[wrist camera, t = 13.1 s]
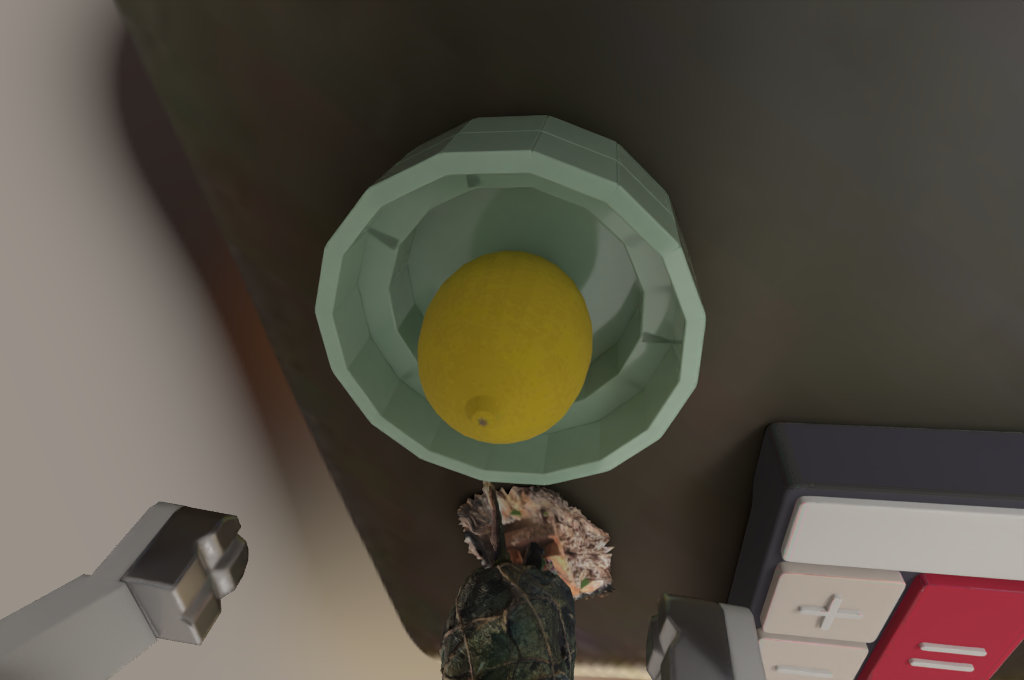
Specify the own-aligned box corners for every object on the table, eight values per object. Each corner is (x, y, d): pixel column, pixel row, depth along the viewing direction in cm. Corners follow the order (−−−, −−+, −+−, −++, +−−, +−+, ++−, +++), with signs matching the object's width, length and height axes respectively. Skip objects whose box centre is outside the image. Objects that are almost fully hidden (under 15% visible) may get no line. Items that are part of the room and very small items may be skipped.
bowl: (615, 44, 17) (616, 65, 13) (725, 354, 23) (750, 439, 18) (312, 198, 22) (240, 251, 18) (463, 429, 27) (435, 511, 23)
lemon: (433, 233, 21) (351, 352, 15) (579, 202, 20) (561, 318, 13) (476, 355, 24) (423, 501, 17) (608, 335, 22) (605, 487, 16)
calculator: (732, 694, 29) (792, 502, 20) (719, 612, 32) (766, 419, 24) (973, 722, 27) (1151, 525, 19) (932, 633, 31) (1066, 432, 22)
